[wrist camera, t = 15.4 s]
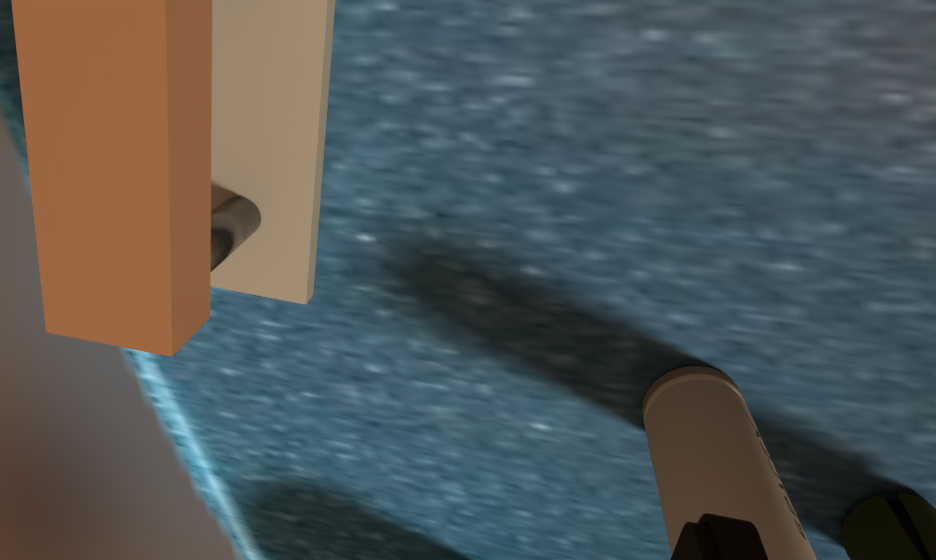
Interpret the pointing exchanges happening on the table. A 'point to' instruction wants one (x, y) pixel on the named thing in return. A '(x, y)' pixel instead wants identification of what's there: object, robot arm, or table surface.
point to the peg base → (271, 137)
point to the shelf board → (120, 165)
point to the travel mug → (716, 460)
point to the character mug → (891, 530)
